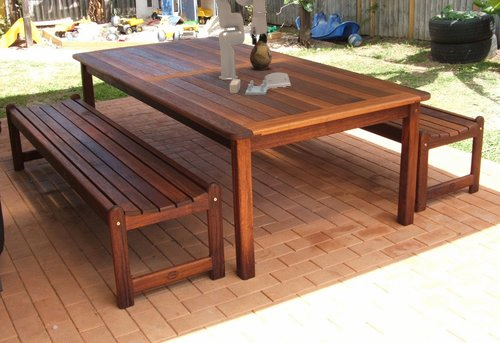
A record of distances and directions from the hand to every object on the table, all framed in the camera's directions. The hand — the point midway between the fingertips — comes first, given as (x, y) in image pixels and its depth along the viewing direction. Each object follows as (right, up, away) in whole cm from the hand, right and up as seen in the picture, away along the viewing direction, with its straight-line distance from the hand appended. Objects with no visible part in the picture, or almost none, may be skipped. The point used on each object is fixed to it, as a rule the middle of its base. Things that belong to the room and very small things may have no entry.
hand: (259, 43), depth 423 cm
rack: (-2, -28, +6) cm, 29 cm away
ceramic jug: (+2, -4, +75) cm, 75 cm away
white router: (+11, -24, +18) cm, 32 cm away
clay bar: (-15, -27, +10) cm, 33 cm away
